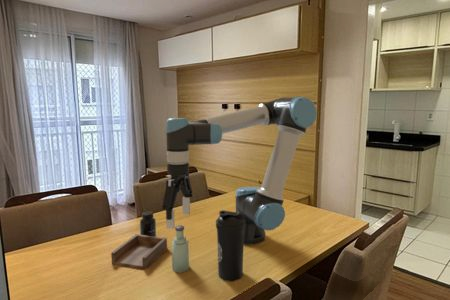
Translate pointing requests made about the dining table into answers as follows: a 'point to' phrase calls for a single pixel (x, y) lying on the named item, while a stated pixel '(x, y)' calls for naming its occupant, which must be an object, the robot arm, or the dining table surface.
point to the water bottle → (230, 244)
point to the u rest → (139, 251)
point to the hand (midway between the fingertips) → (178, 220)
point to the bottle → (180, 251)
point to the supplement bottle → (148, 224)
